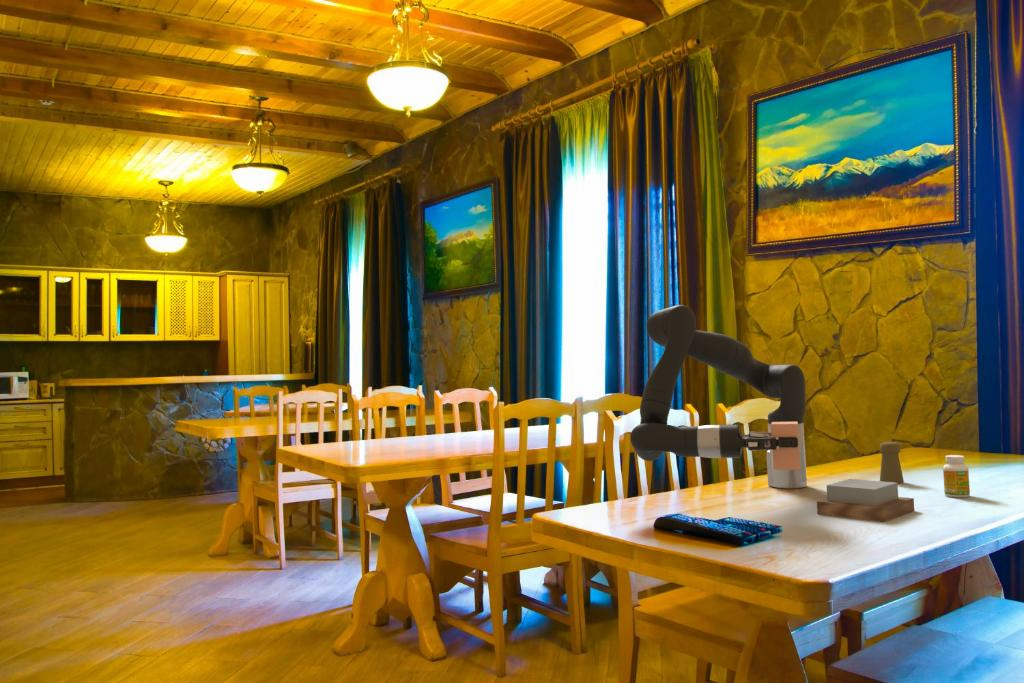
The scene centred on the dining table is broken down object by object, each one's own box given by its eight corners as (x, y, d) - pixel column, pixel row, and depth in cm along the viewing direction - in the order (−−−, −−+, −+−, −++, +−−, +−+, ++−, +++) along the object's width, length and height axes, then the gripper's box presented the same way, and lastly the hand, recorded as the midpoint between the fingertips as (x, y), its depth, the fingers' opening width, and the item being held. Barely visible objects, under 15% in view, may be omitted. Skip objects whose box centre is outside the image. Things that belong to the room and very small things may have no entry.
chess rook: (908, 483, 216) (905, 442, 216) (885, 484, 216) (883, 443, 216) (897, 480, 222) (895, 440, 222) (875, 481, 222) (873, 441, 222)
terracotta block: (773, 469, 177) (771, 424, 177) (774, 466, 182) (771, 421, 183) (800, 469, 175) (797, 423, 176) (799, 466, 181) (797, 421, 181)
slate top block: (827, 500, 182) (826, 485, 182) (850, 493, 189) (850, 478, 189) (875, 505, 173) (874, 489, 174) (898, 498, 181) (897, 482, 181)
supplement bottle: (959, 498, 192) (956, 458, 192) (939, 495, 197) (937, 455, 197) (975, 496, 194) (972, 456, 194) (955, 493, 199) (953, 454, 199)
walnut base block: (817, 516, 182) (816, 501, 182) (849, 506, 191) (848, 492, 191) (884, 524, 170) (883, 508, 170) (914, 513, 180) (913, 498, 180)
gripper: (715, 428, 177) (797, 426, 171) (720, 421, 191) (796, 420, 185) (717, 462, 177) (799, 461, 171) (722, 453, 190) (798, 453, 185)
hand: (797, 440), depth 178 cm, fingers closed on terracotta block, 5 cm apart
